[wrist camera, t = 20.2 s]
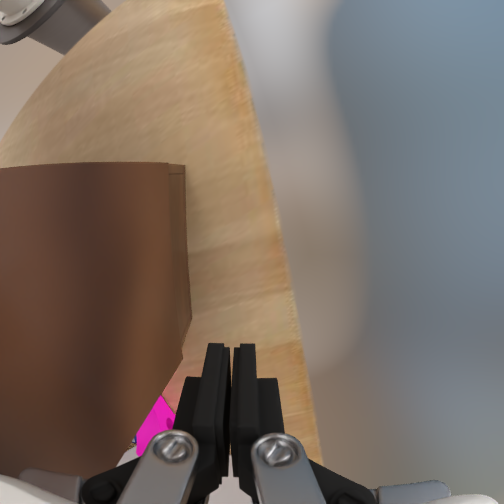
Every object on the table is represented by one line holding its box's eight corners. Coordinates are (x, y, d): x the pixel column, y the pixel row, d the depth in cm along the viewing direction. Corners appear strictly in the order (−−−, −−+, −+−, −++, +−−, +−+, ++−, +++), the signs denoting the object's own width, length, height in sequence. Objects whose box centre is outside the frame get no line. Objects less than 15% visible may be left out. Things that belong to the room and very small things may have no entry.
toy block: (86, 342, 31) (58, 376, 23) (123, 333, 30) (97, 370, 23) (142, 424, 34) (129, 462, 27) (178, 420, 34) (169, 461, 27)
